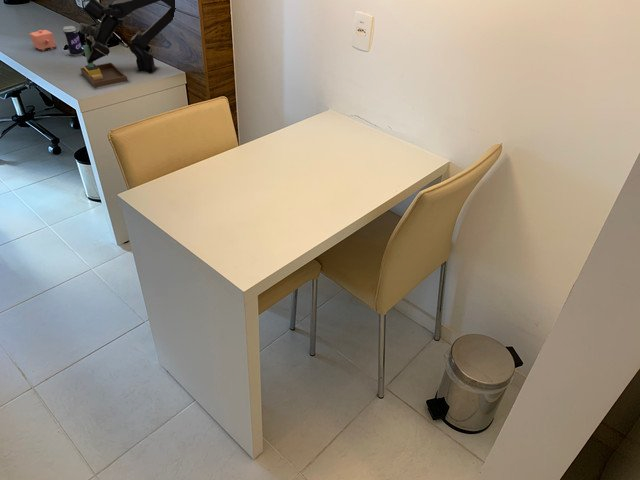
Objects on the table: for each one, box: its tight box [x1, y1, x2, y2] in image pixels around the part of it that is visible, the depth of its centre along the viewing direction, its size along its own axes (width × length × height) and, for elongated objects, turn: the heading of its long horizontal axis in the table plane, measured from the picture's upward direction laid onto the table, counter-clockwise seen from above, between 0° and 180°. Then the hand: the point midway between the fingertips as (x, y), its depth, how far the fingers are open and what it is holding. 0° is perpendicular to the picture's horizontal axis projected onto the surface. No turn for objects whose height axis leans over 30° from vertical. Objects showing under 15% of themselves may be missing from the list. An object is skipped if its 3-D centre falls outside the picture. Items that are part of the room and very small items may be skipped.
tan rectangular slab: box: [91, 74, 103, 80], centre depth 204 cm, size 4×2×1 cm, turn 126°
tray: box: [80, 62, 128, 88], centre depth 205 cm, size 19×13×3 cm
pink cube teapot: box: [29, 29, 57, 52], centre depth 230 cm, size 8×12×8 cm, turn 47°
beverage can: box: [62, 25, 84, 57], centre depth 224 cm, size 6×6×12 cm
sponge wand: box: [82, 44, 101, 77], centre depth 204 cm, size 5×6×12 cm
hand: (85, 59), depth 203 cm, fingers open, 9 cm apart
